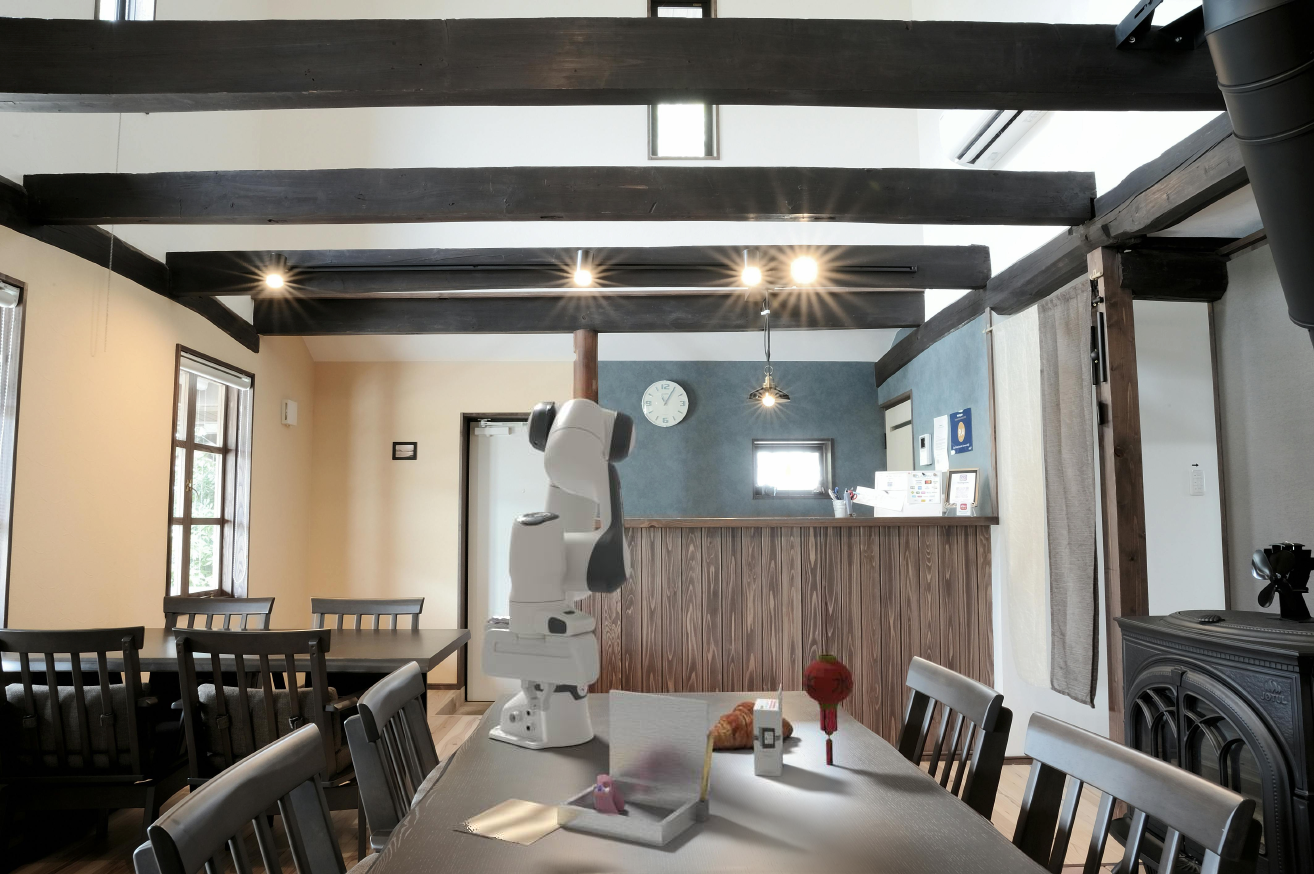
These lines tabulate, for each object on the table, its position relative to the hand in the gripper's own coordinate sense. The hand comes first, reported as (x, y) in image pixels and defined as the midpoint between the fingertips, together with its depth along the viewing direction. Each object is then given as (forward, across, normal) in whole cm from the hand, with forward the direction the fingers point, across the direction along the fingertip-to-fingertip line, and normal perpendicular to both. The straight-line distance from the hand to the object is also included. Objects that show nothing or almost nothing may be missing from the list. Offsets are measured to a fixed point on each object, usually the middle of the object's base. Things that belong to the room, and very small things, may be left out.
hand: (538, 710), depth 127 cm
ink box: (+18, +21, +43) cm, 51 cm away
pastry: (+18, +11, +58) cm, 61 cm away
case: (+18, +11, +9) cm, 23 cm away
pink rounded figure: (+18, +8, +7) cm, 21 cm away
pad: (+18, -4, 0) cm, 18 cm away
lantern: (+18, +30, +50) cm, 61 cm away
